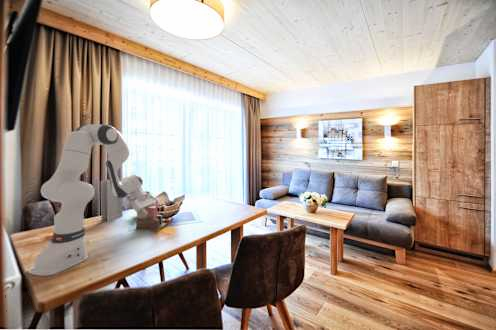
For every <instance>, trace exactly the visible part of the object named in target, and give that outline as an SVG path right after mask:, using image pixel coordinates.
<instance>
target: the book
mask: <svg viewBox="0 0 496 330" xmlns="http://www.w3.org/2000/svg"><path fill="white" fill-rule="evenodd" d="M146 211H148V212H149V213H148V214H147V215H146V217H145V218H150V219H157V215H158V206H156V205H155V206H148V207H146Z"/></svg>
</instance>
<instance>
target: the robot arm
mask: <svg viewBox="0 0 496 330" xmlns="http://www.w3.org/2000/svg"><path fill="white" fill-rule="evenodd" d="M94 145H96V146H97V145H98V146H100V145H102V146H103V145H104V147H105V149H106V152H107V155H108V158H107V161H106V162H105V166H106V170H107V171H106V172H107V174H108V178H109V179H110V183H111V189H112V193H113V194H114V196H115V197H118V198H122V199H124V198H125V197H127V196H128V195H129V198H130V200H129V203H130V205H131V207H132V209H133V210H134V212H136V213H137V212H138V211H142V212H143V213H145V214H146V215H147V214H148V213H149V212H148V211H146V210H145V208H146V207H148V206H156V204H157V199H156V198H155V197H154V196H153V194H151V191H147V190H143V189H142V188H141V187H142V185H143V181H144V180H143V179H142V178H141V177H140V175H139V174H131V175H129V176H125V177H124V178H121V179H122V180H121V181H120V182H119V179H120V178H119V176H118V170H119V168H120V167H121V166H122V165H123V164H124V163H125V162H126V161H127V160H128V158H129V156H130V149H129V147H128V144H127V143H126V140H125V138H124V136H123V135H122V134H121V132H120V131H118V130H117V129H116V128H115V127H113V126H112V125H110V124H109V125H108V124H97V123H96V124H95V123H92V124H91V123H90V124H86V123H85V124H82V125H80V126H78V127H77V128H76V130H74V131H71V132H69V134H68V136H67V138H66V141H65V142H64V144H63V150H62V153H61V156H60V157H61V158H60V159H59V163H58V164H59V165H58V167H57V168H56V170H55V171H54V173H53V175H52V176H51V178H50V179H49V180H47V181H46V182H44V183H43V184H42V186H41V188H40V194H41V197H43V198H44V199H47V200H48V201H50V202H55V203H56V202H57V203H60V204H61V206H60V210H59V212H57V213H56V214H55V215H54V217H53V222H54V223H53V225H54V226H53V227H54V232H53V233H52V235H46V236H45V237H44V241H45V240H46V241H49V243H48V244H47V245H46V246H45V247H44V248H42V250H41V251H40V252H39V253H38V254H37V255H36V257H35V262H34V265H32V266H30V267H29V268H28V269H27V273H29V274H30V275H32V276H33V275H34V276H39V277H40V276H53V275H56V274H58V273H60V272H62V271H64V270H67V269H68V268H71V267H74V266H76V265H78V264H80V263H82V262H85V261H87V260H88V259H89V257H88V255H89V251H88V249H87V246H86V241H85V234H86V229H85V227H84V213H85V210H86V207H87V205H88V203H89V202H91V200H93V198H94V197H95V194H96V193H95V191H96V190H95V187H94V186H93V185H92V184H90V183H88V182H86V181H82V180H79V178H80V177H81V175H82V174H83V173H85V172H86V171H87V170H88V168H89V162H90V159H91V155H92V148H93V146H94ZM109 179H108V180H109Z"/></svg>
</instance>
